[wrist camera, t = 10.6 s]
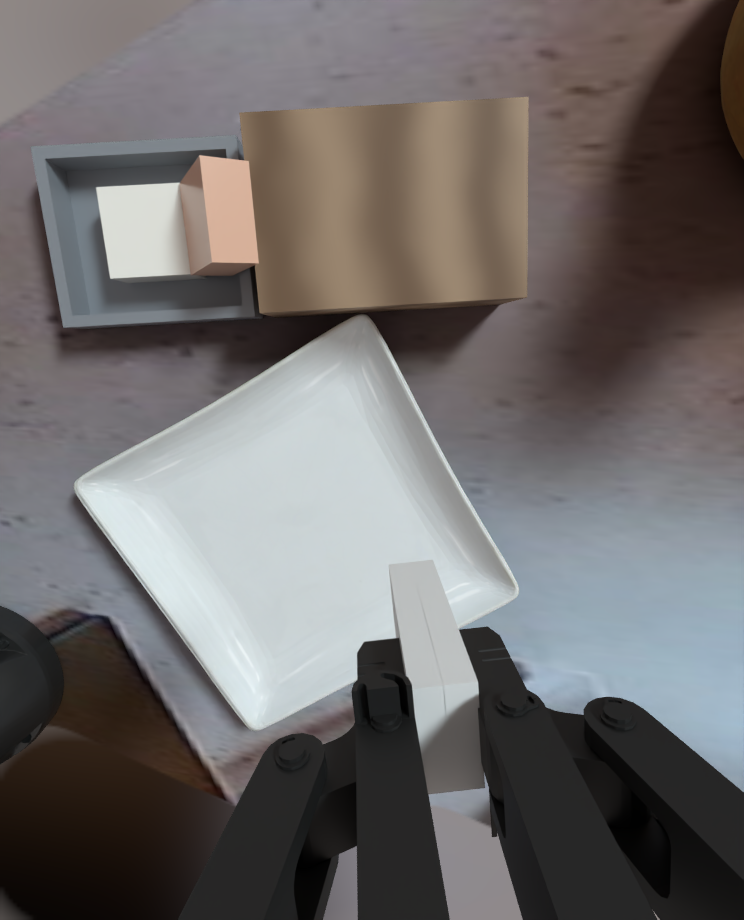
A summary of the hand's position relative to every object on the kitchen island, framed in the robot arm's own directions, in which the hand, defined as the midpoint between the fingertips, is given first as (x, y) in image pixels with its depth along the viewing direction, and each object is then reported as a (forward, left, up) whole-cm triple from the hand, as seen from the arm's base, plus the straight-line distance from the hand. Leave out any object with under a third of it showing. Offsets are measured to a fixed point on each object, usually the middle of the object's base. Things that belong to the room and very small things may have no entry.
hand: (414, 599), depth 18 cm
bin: (-16, +17, -28) cm, 36 cm away
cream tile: (-16, +17, -24) cm, 33 cm away
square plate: (-7, -7, -28) cm, 30 cm away
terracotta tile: (-9, +17, -22) cm, 29 cm away
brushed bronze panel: (+1, +17, -28) cm, 32 cm away
